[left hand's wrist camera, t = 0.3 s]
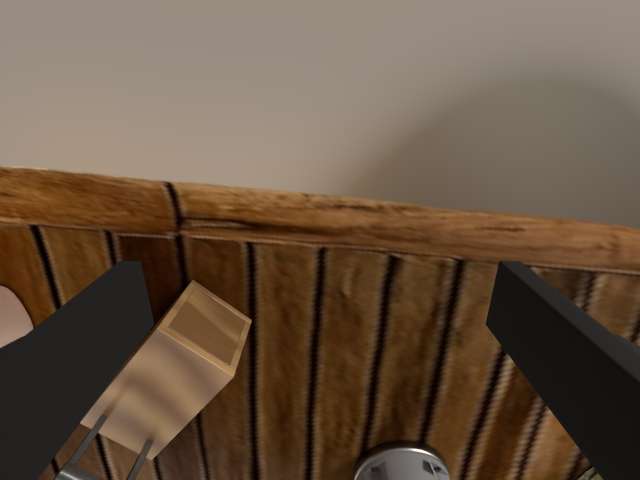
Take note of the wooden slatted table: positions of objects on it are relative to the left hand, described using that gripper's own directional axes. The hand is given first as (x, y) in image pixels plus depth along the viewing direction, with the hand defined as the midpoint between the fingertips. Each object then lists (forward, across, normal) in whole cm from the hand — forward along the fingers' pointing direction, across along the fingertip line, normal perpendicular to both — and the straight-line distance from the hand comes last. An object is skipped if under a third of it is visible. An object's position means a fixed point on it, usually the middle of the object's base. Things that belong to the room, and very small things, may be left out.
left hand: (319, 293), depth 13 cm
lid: (+18, +18, +23) cm, 34 cm away
